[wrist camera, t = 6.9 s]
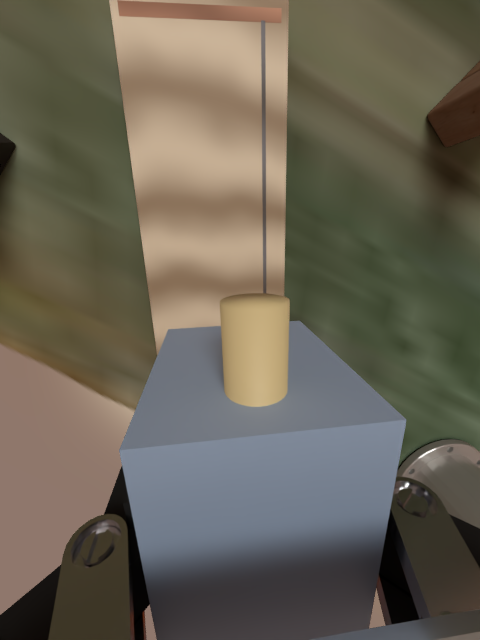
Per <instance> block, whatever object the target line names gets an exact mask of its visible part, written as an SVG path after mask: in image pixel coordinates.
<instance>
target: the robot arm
mask: <svg viewBox="0 0 480 640" xmlns="http://www.w3.org/2000/svg"><path fill="white" fill-rule="evenodd" d="M376 588H377V592H378V596H379V600H380V604H381V609H382V612H383V617H384V621H385V624H386V626H381V627H376V628H370V629H364V630H359V631H353V632H348V633H343V634H337V635H332V636H327V637H321V638H316V639H310V640H480V452H479V451H478V450H477V449H475V448H474V447H473V446H472V445H470V444H469V443H467V442H464V441H461V440H455V439H448V440H440V441H436V442H433V443H430V444H428V445H425V446H424V447H422V448H420V449H418V450H417V451H416V452H414V453H413V454H412V455H410V456H409V457H408V458H407V459H406V460H405V461H404V462H403V464H402V465H401V466H400V468H399V469H398V471H397V475H396V480H395V486H394V491H393V497H392V503H391V508H390V514H389V519H388V525H387V530H386V536H385V541H384V547H383V553H382V558H381V564H380V569H379V575H378V580H377V586H376ZM149 604H150V602H149V597H148V592H147V587H146V582H145V577H144V572H143V567H142V562H141V557H140V552H139V547H138V542H137V537H136V532H135V527H134V522H133V517H132V512H131V507H130V502H129V497H128V492H127V487H126V482H125V477H124V472H123V467H121V469H120V472H119V475H118V478H117V480H116V483H115V486H114V489H113V492H112V494H111V497H110V500H109V503H108V505H107V508H106V511H105V513H104V515H101V516H97V517H95V518H94V519H91V520H90V521H88V522H86V523H85V524H84V525H83V526H81V527H80V528H79V529H78V530H77V531H76V532H75V533H74V534H73V536H72V537H71V539H70V540H69V542H68V543H67V545H66V548H65V551H64V554H63V559H62V564H61V565H60V566H59V567H58V568H57V569H55V570H54V571H53V572H52V573H51V574H49V575H48V576H47V577H46V578H45V579H43V580H42V581H41V582H40V583H39V584H37V585H36V586H35V587H34V588H33V589H31V590H30V591H29V592H28V593H26V594H25V595H24V596H23V597H22V598H20V600H18V601H17V602H16V603H14V605H12V606H11V607H10V608H8V609H7V610H6V611H5V612H4V613H2V614H1V615H0V640H146V628H145V612H144V610H145V609H146V608H147V606H149Z"/></svg>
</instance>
